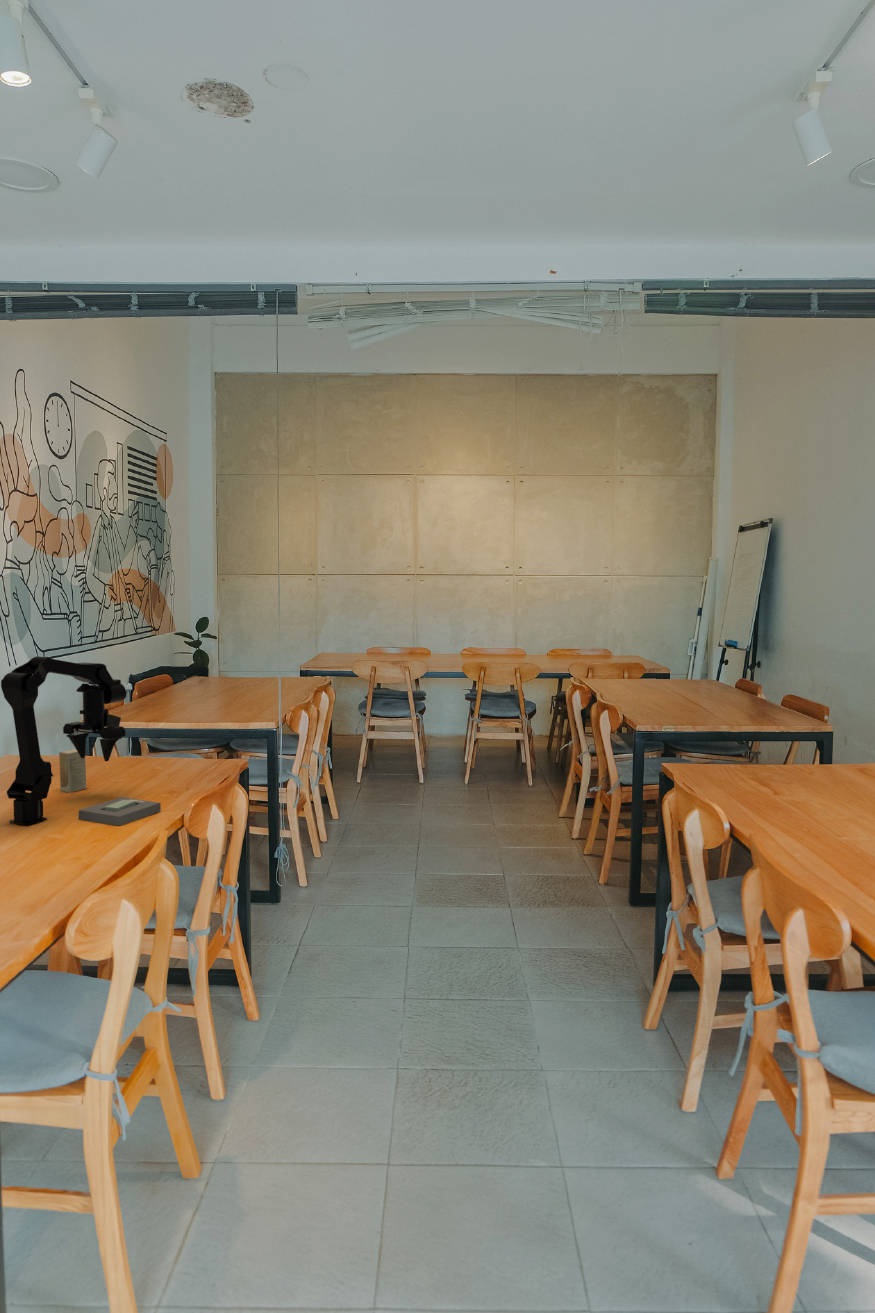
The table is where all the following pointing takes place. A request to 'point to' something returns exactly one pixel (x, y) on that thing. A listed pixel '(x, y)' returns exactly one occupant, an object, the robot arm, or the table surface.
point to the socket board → (119, 812)
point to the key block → (120, 805)
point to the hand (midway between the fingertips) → (94, 759)
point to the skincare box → (72, 771)
